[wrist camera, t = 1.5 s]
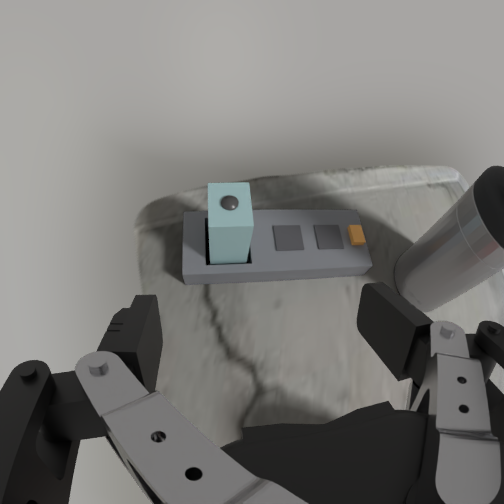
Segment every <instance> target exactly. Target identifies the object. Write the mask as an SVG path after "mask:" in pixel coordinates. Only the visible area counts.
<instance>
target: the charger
mask: <svg viewBox="0 0 504 504" xmlns="http://www.w3.org/2000/svg"><path fill="white" fill-rule="evenodd" d="M208 228H209V249H210V265H228V264H246V262H247V257H248V252H249V248H250V243H251V238H252V233H253V228H254V222H253V213H252V204H251V195H250V186H249V182H236V183H208Z"/></svg>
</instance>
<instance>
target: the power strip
mask: <svg viewBox="0 0 504 504" xmlns="http://www.w3.org/2000/svg"><path fill="white" fill-rule="evenodd" d="M252 213H253V222H254V228H253V233H252V238H251V243H250V248H249V252H248V264H228V265H206V233H205V231H209V228H208V211H189V212H184V215H183V264H182V275H183V278H184V282H185V285H192V284H219V283H242V282H263V281H282V280H299V279H315V278H330V277H345V276H358V275H363V274H364V273H365V272H366V271H368V270H369V269H370V268H371V267H372V266H373V265H372V261H371V257H370V253H369V250H368V246H367V242H366V239H365V235H364V232H363V228H362V225H361V222H360V218H359V215H358V212H357V210H335V209H268V210H252Z"/></svg>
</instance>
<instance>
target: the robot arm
mask: <svg viewBox="0 0 504 504" xmlns="http://www.w3.org/2000/svg"><path fill="white" fill-rule="evenodd" d="M503 268H504V167H502V166H492V167H490V168H488V169H487V170H485V171H484V172H483V173H482V175H481V176H480V177H479V178H478V179H477V180H476V181H475V182H474V184H473V185H472V186H471V187H470V188H469V189H468V190H467V191H466V192H465V193H464V194H463V195H462V196H461V198H460V199H459V200H458V201H457V202H456V203H455V204H454V205H453V206H452V207H451V208H450V209H449V210H448V211H447V212H446V213H445V214H444V215H443V216H442V217H441V218H440V219H439V220H438V221H437V222H436V223H435V224H434V225H433V226H432V227H431V228H430V229H429V230H428V231H427V232H426V233H425V234H424V235H423V236H422V237H421V238H420V239H419V240H418V241H417V242H415V243H414V244H413V245H412V246H411V247H410V248H409V249H408V250H407V251H406V252H405V253H404V254H403V255H401V256H400V257H399V259H398V261H397V263H396V266H395V272H394V275H395V282H396V286H397V289H398V291H399V293H400V295H401V296H400V295H398V294H397V293H395V292H394V291H393V290H392V289H390V288H389V287H388V286H387V285H385V284H384V283H383V282H378V283H367V284H365V285H364V286H363V288H362V292H361V298H360V304H359V309H358V315H357V327H358V330H359V332H360V334H361V335H362V336H363V337H364V339H365V340H366V341H367V342H368V344H369V345H370V346H371V347H372V349H373V350H374V351H375V352H376V354H377V355H378V356H379V357H380V359H381V360H382V361H383V362H384V364H385V365H386V366H387V367H388V369H389V370H390V371H391V373H392V374H393V375H394V376H395V378H396V379H397V380H398V381H401V380H404V379H407V378H412V380H411V383H410V385H409V391H408V398H407V405H406V410H394V408H393V407H392V405H391V404H390V403H389V401H386V402H383V403H379V404H375V405H372V406H368V407H364V408H360V409H357V410H355V411H353V412H350V413H348V414H346V415H344V416H342V417H340V418H338V419H336V420H334V421H331V422H329V423H326V424H320V425H317V424H283V423H281V424H274V425H266V426H256V427H246V428H241V432H242V439H241V440H237V441H234V442H232V443H229V444H227V445H225V446H223V447H221V448H219V447H218V446H217V445H215V444H214V443H213V442H212V441H211V440H210V439H209V438H207V437H206V436H205V435H204V434H203V433H202V432H201V431H200V430H198V429H197V428H196V427H195V426H194V425H193V424H192V423H191V422H190V421H189V420H188V419H187V418H186V417H185V416H184V415H183V414H181V413H180V412H179V411H178V410H177V409H176V408H175V407H174V406H173V405H172V404H171V403H170V402H169V401H168V400H167V399H166V398H165V397H164V396H163V395H162V394H161V393H160V392H159V391H155V387H156V381H157V375H158V369H159V363H160V357H161V352H162V345H163V338H162V329H161V322H160V315H159V308H158V301H157V297H156V295H136V296H135V298H134V300H133V302H132V304H131V307H130V308H122V309H121V310H120V311H119V312H117V313H116V314H115V315H114V316H113V318H112V320H111V322H110V325H109V326H108V328H107V332H106V333H105V334H104V337H103V339H102V341H101V343H100V345H99V347H98V349H97V351H96V352H93V353H90V354H87V355H85V356H84V357H82V358H81V359H80V360H79V361H78V362H77V364H76V366H75V371H70V372H63V373H55V374H51V371H50V369H49V367H48V365H47V364H46V363H44V362H42V361H38V360H30V361H26V362H23V363H21V364H19V365H18V366H16V367H15V368H14V369H13V370H12V372H11V373H10V375H9V377H8V379H7V380H6V382H5V384H4V386H3V387H2V389H1V391H0V504H68V502H69V497H70V491H71V485H72V479H73V473H74V468H75V463H76V458H77V454H78V449H79V445H80V440H82V439H90V438H97V437H103V436H105V438H106V440H107V441H108V443H109V444H110V446H111V447H112V449H113V450H114V452H115V453H116V455H117V456H118V458H119V459H120V461H121V462H122V464H123V465H124V466H125V468H126V469H127V471H128V472H129V473H130V474H131V476H132V477H133V479H134V480H135V481H136V483H137V485H138V486H139V487H140V489H141V490H142V492H143V493H144V494H145V495H146V497H147V498H148V499H149V500H150V502H151V503H152V504H504V394H503V393H502V392H501V391H500V390H499V389H498V388H497V387H496V386H495V385H494V384H493V382H492V381H491V380H490V379H489V377H490V375H491V373H492V371H493V369H494V367H495V365H496V363H498V364H499V365H500V366H501V367H502V368H503V369H504V327H503V326H502V325H500V324H498V323H496V322H492V321H482V322H480V323H479V326H478V329H477V332H476V334H465V332H464V330H463V329H462V328H461V327H460V326H458V325H456V324H454V323H452V322H448V321H436V322H433V321H432V320H431V319H430V318H428V317H427V316H426V315H425V314H424V313H422V312H429V311H432V310H434V309H436V308H438V307H440V306H442V305H443V304H445V303H447V302H449V301H451V300H453V299H454V298H456V297H458V296H460V295H461V294H463V293H465V292H467V291H468V290H470V289H472V288H473V287H475V286H476V285H478V284H480V283H481V282H483V281H485V280H486V279H488V278H489V277H491V276H492V275H494V274H496V273H497V272H499V271H500V270H502V269H503ZM421 311H422V312H421Z"/></svg>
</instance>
